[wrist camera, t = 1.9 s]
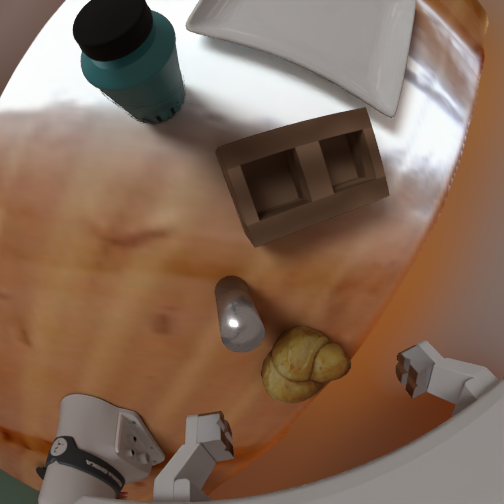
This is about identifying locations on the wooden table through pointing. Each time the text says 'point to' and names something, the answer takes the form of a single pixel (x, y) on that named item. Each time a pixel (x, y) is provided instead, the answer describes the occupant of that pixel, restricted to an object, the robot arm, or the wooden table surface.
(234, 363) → the wooden table surface
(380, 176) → the socket block
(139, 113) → the beverage bottle
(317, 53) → the square plate
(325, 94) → the wooden table surface
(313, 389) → the bread roll
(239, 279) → the steel pin
